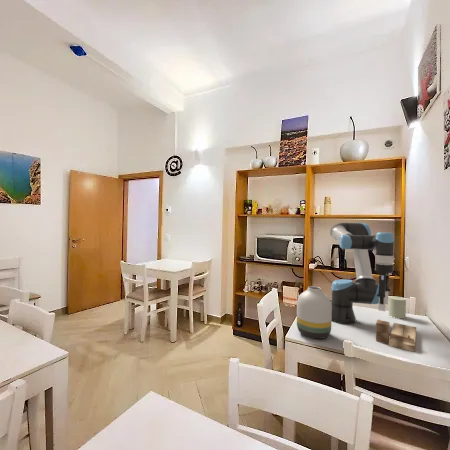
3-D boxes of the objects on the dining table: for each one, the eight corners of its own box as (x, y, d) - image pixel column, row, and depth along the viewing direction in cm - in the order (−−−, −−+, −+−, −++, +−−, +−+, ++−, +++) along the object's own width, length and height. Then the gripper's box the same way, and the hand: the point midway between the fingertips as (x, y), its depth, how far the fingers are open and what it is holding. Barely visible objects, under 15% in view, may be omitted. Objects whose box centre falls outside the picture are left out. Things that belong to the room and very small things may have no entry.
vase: (331, 344, 124) (332, 293, 124) (294, 338, 130) (295, 289, 130) (330, 330, 140) (331, 285, 140) (297, 326, 146) (298, 282, 146)
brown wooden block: (376, 341, 129) (376, 322, 129) (377, 337, 133) (377, 319, 133) (413, 350, 120) (414, 330, 120) (414, 346, 124) (414, 327, 124)
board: (388, 345, 124) (388, 339, 124) (393, 327, 147) (393, 322, 147) (414, 351, 118) (414, 345, 118) (416, 331, 141) (416, 327, 141)
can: (405, 315, 166) (405, 296, 165) (406, 320, 158) (406, 300, 158) (388, 313, 170) (388, 294, 170) (388, 317, 163) (388, 297, 163)
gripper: (391, 267, 117) (390, 315, 117) (395, 261, 137) (394, 302, 137) (371, 265, 121) (370, 312, 121) (378, 260, 141) (378, 300, 141)
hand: (383, 307), depth 129 cm, fingers open, 13 cm apart
